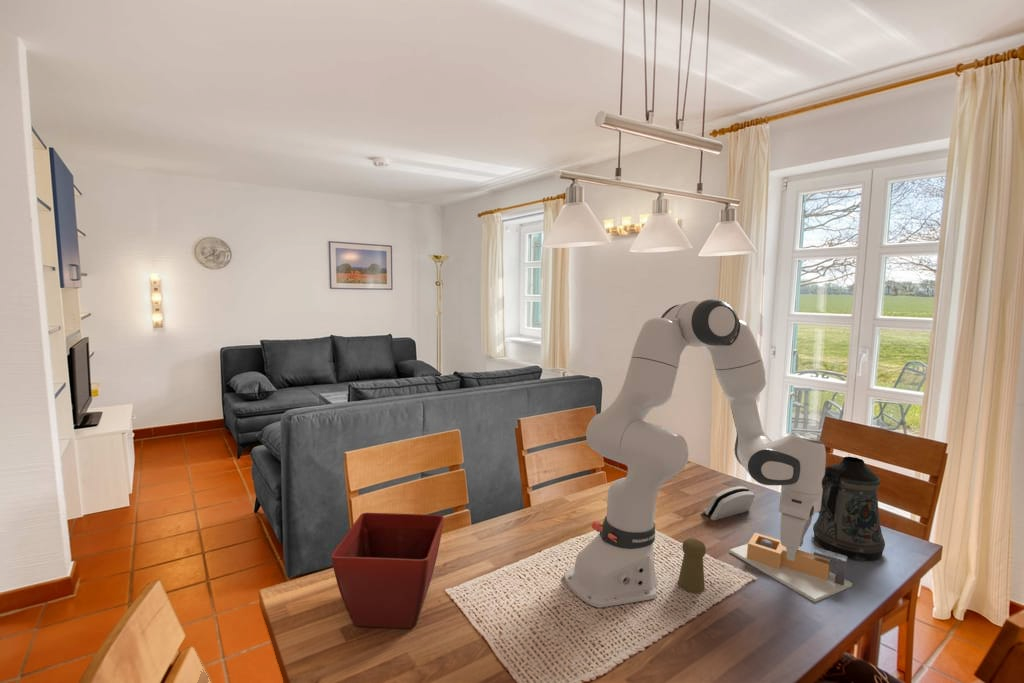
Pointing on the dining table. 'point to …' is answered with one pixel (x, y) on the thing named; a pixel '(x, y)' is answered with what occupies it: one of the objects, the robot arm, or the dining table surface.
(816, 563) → the link
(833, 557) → the bracket
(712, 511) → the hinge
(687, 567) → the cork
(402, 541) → the plant pot
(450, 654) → the dining table surface
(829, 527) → the beer stein
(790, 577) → the board
